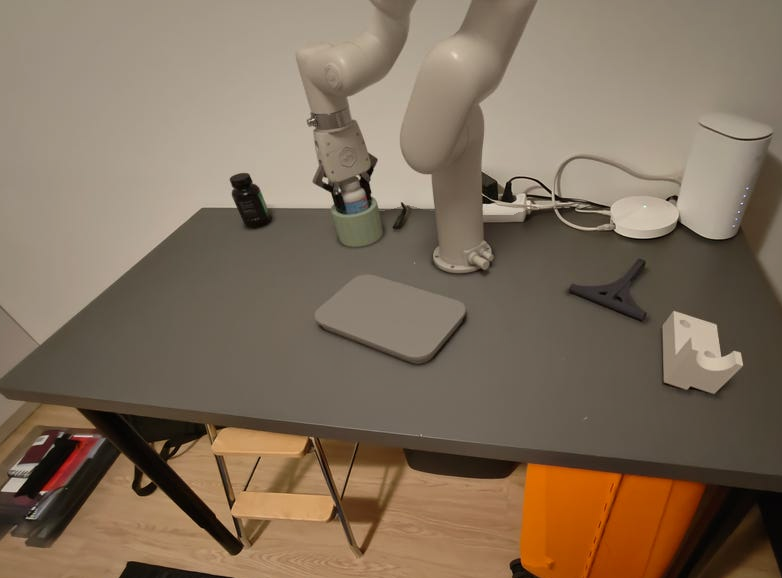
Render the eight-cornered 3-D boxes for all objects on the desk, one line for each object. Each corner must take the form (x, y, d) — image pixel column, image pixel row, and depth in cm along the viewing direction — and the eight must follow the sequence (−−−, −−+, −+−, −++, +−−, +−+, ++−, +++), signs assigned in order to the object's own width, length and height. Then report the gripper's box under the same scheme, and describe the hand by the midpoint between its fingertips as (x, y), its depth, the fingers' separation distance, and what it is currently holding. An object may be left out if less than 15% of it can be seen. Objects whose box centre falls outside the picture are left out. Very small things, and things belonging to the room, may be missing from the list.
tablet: (425, 371, 76) (423, 362, 74) (311, 327, 87) (307, 317, 85) (472, 314, 85) (471, 304, 83) (364, 280, 96) (361, 271, 94)
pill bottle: (371, 232, 105) (359, 185, 97) (345, 234, 106) (331, 187, 98) (374, 219, 110) (364, 173, 102) (349, 221, 110) (337, 175, 102)
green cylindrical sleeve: (391, 234, 108) (385, 204, 103) (352, 252, 104) (344, 222, 99) (368, 219, 115) (362, 190, 109) (331, 235, 111) (322, 206, 105)
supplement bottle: (277, 218, 119) (259, 173, 111) (257, 231, 115) (238, 185, 107) (259, 213, 122) (240, 169, 114) (239, 226, 118) (218, 180, 110)
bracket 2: (710, 397, 68) (743, 365, 62) (663, 382, 69) (692, 349, 63) (703, 339, 77) (732, 306, 71) (662, 325, 77) (687, 292, 71)
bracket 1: (677, 281, 87) (681, 268, 85) (641, 322, 79) (644, 310, 77) (607, 257, 94) (609, 245, 92) (568, 293, 87) (569, 281, 85)
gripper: (301, 135, 85) (328, 223, 98) (378, 109, 92) (395, 195, 105) (285, 127, 90) (313, 212, 103) (360, 103, 96) (378, 185, 109)
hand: (354, 202), depth 103 cm, fingers closed on pill bottle, 6 cm apart
